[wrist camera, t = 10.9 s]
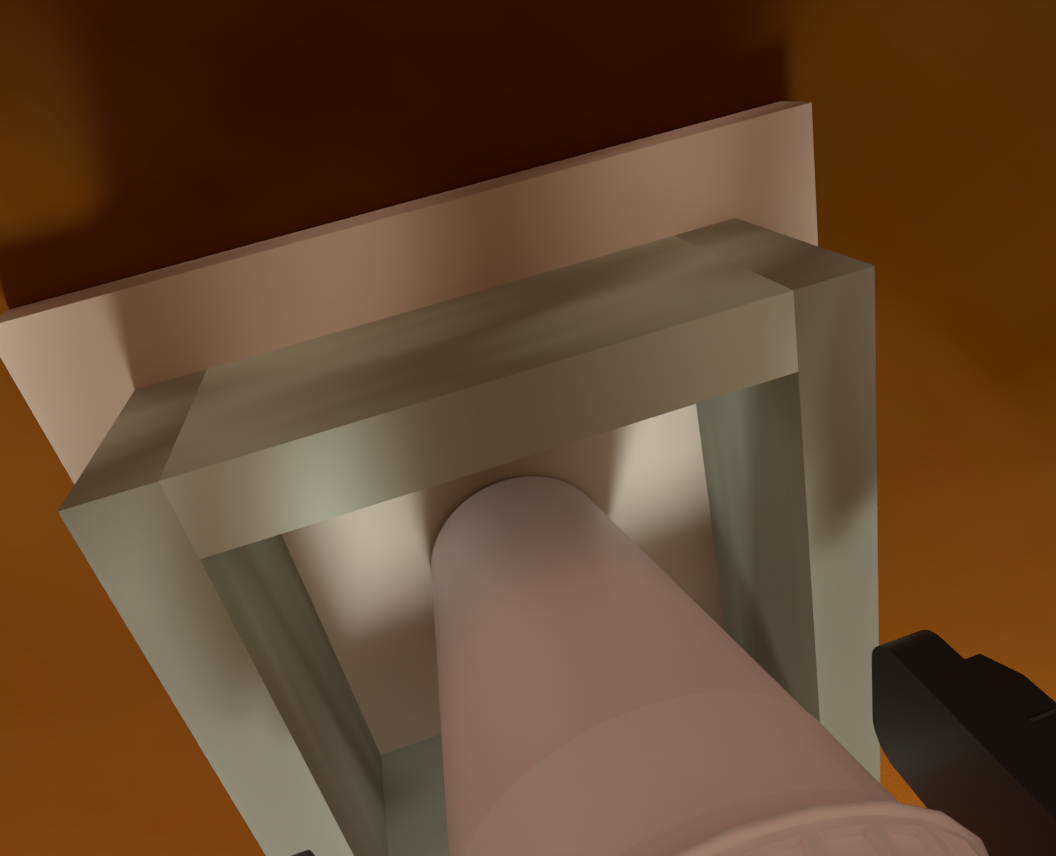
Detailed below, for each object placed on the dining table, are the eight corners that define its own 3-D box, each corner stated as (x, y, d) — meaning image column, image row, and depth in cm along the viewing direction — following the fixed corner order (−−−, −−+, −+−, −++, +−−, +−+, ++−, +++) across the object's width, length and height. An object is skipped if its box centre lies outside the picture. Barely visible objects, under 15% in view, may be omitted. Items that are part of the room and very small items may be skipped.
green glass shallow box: (781, 101, 14) (986, 111, 10) (815, 653, 20) (949, 812, 16) (7, 309, 13) (-169, 435, 8) (303, 837, 19) (294, 1069, 14)
